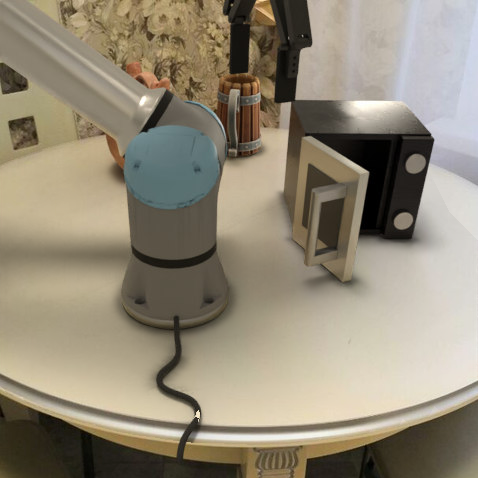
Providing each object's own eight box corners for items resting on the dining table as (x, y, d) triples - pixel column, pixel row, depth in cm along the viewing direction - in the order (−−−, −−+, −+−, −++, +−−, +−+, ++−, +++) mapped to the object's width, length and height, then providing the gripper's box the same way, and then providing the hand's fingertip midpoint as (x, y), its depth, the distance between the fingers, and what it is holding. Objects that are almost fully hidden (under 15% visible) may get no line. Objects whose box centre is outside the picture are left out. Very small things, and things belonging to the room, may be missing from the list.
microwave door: (313, 290, 92) (327, 180, 81) (264, 245, 102) (271, 142, 92) (351, 279, 94) (369, 172, 84) (300, 236, 105) (310, 135, 95)
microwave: (413, 241, 105) (436, 139, 94) (297, 242, 104) (307, 138, 93) (385, 193, 120) (403, 101, 109) (283, 193, 118) (291, 99, 108)
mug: (217, 137, 141) (218, 69, 132) (263, 141, 140) (267, 73, 131) (204, 164, 128) (205, 91, 119) (255, 169, 127) (259, 96, 118)
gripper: (358, -89, 64) (333, 112, 77) (250, -105, 82) (244, 60, 95) (296, -90, 62) (280, 119, 74) (199, -105, 80) (199, 65, 92)
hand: (260, 86), depth 84 cm, fingers open, 13 cm apart
